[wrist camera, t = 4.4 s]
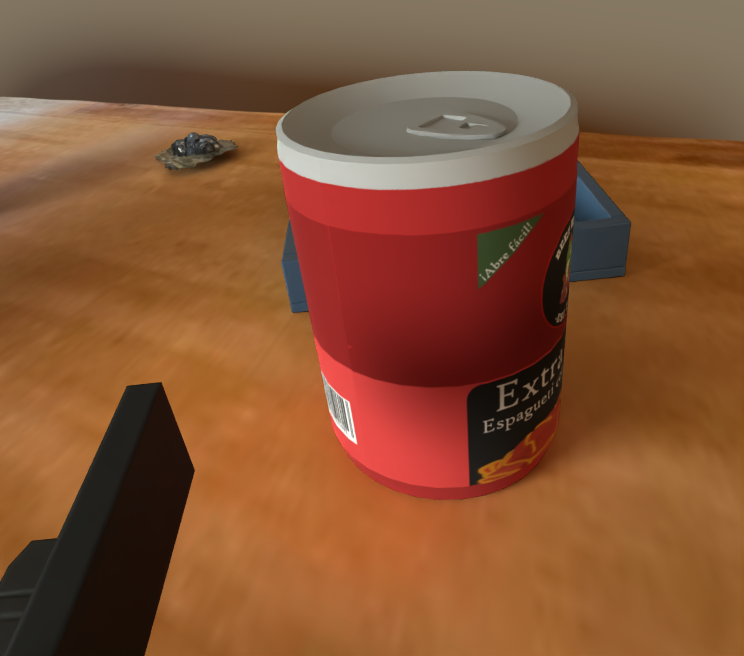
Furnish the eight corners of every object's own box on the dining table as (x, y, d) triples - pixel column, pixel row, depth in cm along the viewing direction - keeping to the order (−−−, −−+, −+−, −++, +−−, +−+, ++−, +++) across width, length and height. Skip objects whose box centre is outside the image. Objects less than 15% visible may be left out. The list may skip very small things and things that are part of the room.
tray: (309, 182, 44) (302, 143, 42) (537, 155, 43) (539, 114, 41) (291, 313, 30) (280, 262, 28) (625, 276, 29) (631, 222, 28)
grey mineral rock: (191, 180, 47) (183, 155, 45) (126, 166, 51) (118, 143, 50) (257, 149, 51) (252, 125, 50) (192, 139, 55) (186, 116, 54)
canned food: (525, 540, 18) (537, 172, 12) (291, 468, 22) (207, 151, 16) (581, 378, 24) (609, 68, 18) (386, 341, 27) (353, 69, 21)
